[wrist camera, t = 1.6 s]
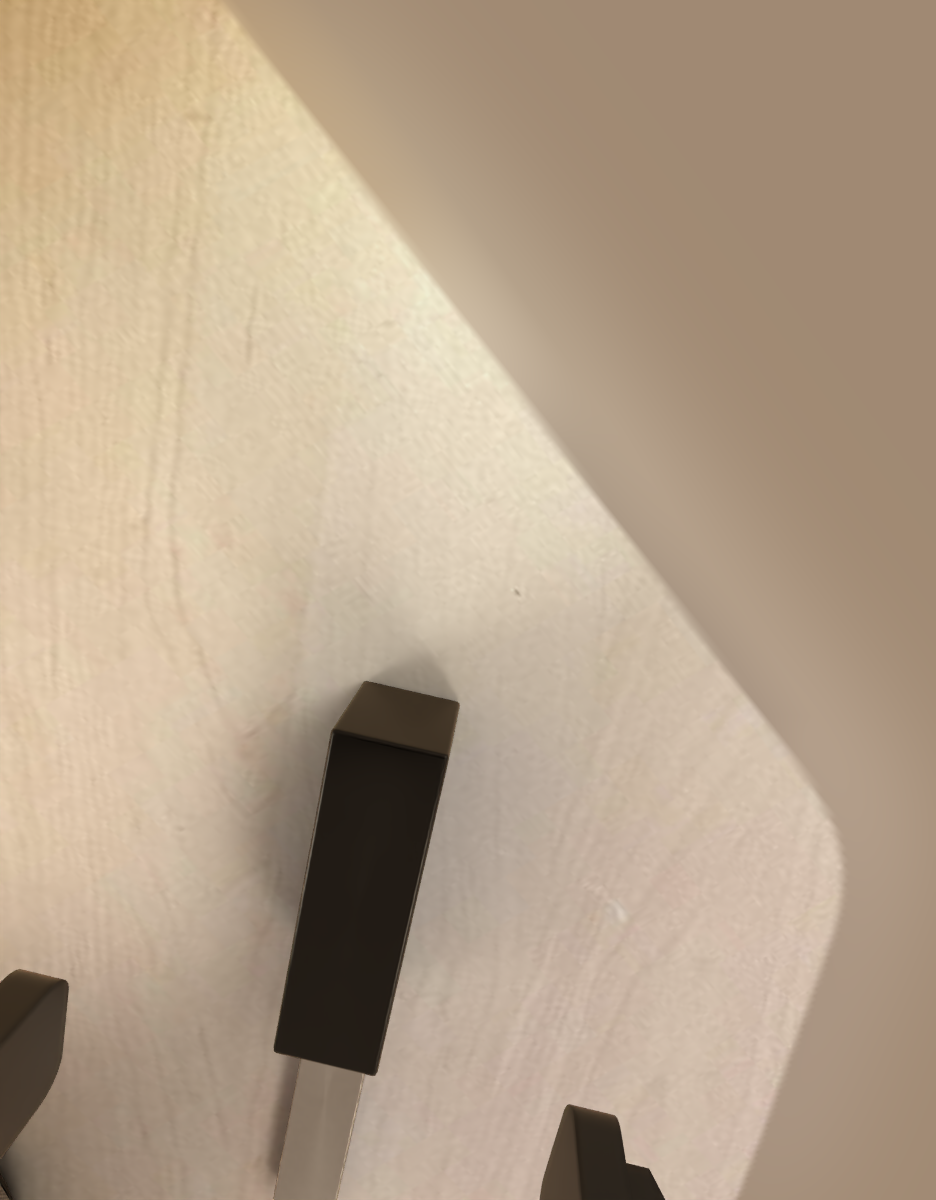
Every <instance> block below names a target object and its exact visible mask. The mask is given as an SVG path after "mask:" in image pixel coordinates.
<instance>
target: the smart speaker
mask: <svg viewBox="0 0 936 1200" xmlns="http://www.w3.org/2000/svg"><path fill="white" fill-rule="evenodd" d="M0 1200H13V1198H12V1196H11V1193H10V1191H9V1189H8V1186H7V1185H6V1183H5V1181H4V1180H3V1178H2V1176H1V1174H0Z"/></svg>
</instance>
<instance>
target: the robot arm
mask: <svg viewBox="0 0 936 1200" xmlns="http://www.w3.org/2000/svg"><path fill="white" fill-rule="evenodd" d="M68 991H69V986H68V983H67V981H66V980H63V979H59V978H55V977H51V976H46V975H42V974H38V973H34V972H30V971H26V970H21V969H19V970H16V971H14V972H12V973H11V974H9V975H8V976H7V977H6V978H5V979H4V980H3V981H2V982H1V983H0V1159H1V1158H2V1157H3V1155H4V1154H5V1152H6V1151H7V1150H8V1148H9V1147H10V1146H11V1144H12V1143H13V1142H14V1140H15V1139H16V1138H17V1136H18V1135H19V1134H20V1132H21V1131H22V1129H23V1128H24V1127H25V1125H26V1124H27V1123H28V1121H29V1120H30V1119H31V1117H32V1116H33V1115H34V1113H35V1112H36V1110H37V1109H38V1108H39V1106H40V1105H41V1103H42V1102H43V1100H44V1099H45V1097H46V1095H47V1093H48V1092H49V1090H50V1088H51V1086H52V1084H53V1082H54V1079H55V1077H56V1075H57V1072H58V1069H59V1066H60V1063H61V1059H62V1052H63V1042H64V1032H65V1022H66V1012H67V1002H68ZM540 1200H665V1198H664V1196H663V1195H662V1193H661V1191H660V1189H659V1187H658V1185H657V1183H656V1181H655V1179H654V1177H653V1175H652V1173H651V1171H650V1170H649V1169H648V1168H644V1167H640V1166H636V1165H632V1164H628V1163H626V1160H625V1154H624V1147H623V1141H622V1135H621V1130H620V1125H619V1122H618V1119H617V1117H616V1116H615V1115H611V1114H607V1113H603V1112H599V1111H595V1110H591V1109H587V1108H582V1107H578V1106H574V1105H570V1104H568V1105H567V1106H566V1108H565V1110H564V1113H563V1116H562V1119H561V1122H560V1125H559V1129H558V1132H557V1135H556V1138H555V1142H554V1145H553V1148H552V1151H551V1155H550V1158H549V1161H548V1164H547V1167H546V1171H545V1174H544V1178H543V1182H542V1187H541V1194H540Z"/></svg>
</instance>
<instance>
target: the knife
mask: <svg viewBox="0 0 936 1200" xmlns="http://www.w3.org/2000/svg"><path fill="white" fill-rule="evenodd" d="M459 708H460V704H459V703H458V702H456V701H452V700H447V699H443V698H439V697H434V696H430V695H425V694H421V693H417V692H412V691H408V690H404V689H399V688H395V687H391V686H386V685H382V684H377V683H373V682H369V681H365V682H364V683H363V684H362V686H361V687H360V689H359V690H358V692H357V693H356V695H355V696H354V698H353V699H352V701H351V702H350V704H349V705H348V707H347V708H346V710H345V711H344V713H343V714H342V716H341V717H340V719H339V720H338V722H337V723H336V725H335V726H334V728H333V729H332V731H331V735H330V741H329V746H328V752H327V757H326V763H325V768H324V774H323V779H322V785H321V790H320V796H319V801H318V807H317V812H316V817H315V823H314V828H313V834H312V839H311V845H310V850H309V856H308V861H307V867H306V872H305V878H304V883H303V889H302V894H301V900H300V905H299V911H298V916H297V922H296V927H295V933H294V938H293V944H292V949H291V955H290V960H289V966H288V971H287V977H286V982H285V988H284V993H283V999H282V1004H281V1009H280V1015H279V1020H278V1026H277V1031H276V1037H275V1042H274V1052H276V1053H279V1054H283V1055H287V1056H291V1057H295V1058H299V1059H300V1063H299V1068H298V1074H297V1079H296V1084H295V1089H294V1094H293V1099H292V1104H291V1110H290V1115H289V1120H288V1125H287V1130H286V1135H285V1140H284V1146H283V1151H282V1156H281V1161H280V1166H279V1171H278V1176H277V1182H276V1187H275V1192H274V1197H273V1200H337V1198H338V1193H339V1189H340V1184H341V1180H342V1175H343V1171H344V1166H345V1162H346V1157H347V1153H348V1148H349V1144H350V1139H351V1135H352V1130H353V1126H354V1121H355V1117H356V1112H357V1108H358V1103H359V1099H360V1094H361V1090H362V1085H363V1081H364V1076H365V1074H366V1075H370V1076H375V1075H376V1073H377V1072H378V1067H379V1063H380V1059H381V1054H382V1050H383V1045H384V1041H385V1037H386V1032H387V1028H388V1024H389V1019H390V1015H391V1010H392V1006H393V1002H394V997H395V993H396V988H397V984H398V980H399V975H400V971H401V967H402V962H403V958H404V953H405V949H406V945H407V940H408V936H409V931H410V927H411V923H412V918H413V914H414V909H415V905H416V901H417V896H418V892H419V888H420V883H421V879H422V874H423V870H424V866H425V861H426V857H427V852H428V848H429V844H430V839H431V835H432V831H433V826H434V822H435V817H436V813H437V809H438V804H439V800H440V795H441V791H442V787H443V782H444V778H445V773H446V769H447V765H448V760H449V756H450V751H451V746H452V741H453V736H454V732H455V727H456V722H457V717H458V712H459Z"/></svg>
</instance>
